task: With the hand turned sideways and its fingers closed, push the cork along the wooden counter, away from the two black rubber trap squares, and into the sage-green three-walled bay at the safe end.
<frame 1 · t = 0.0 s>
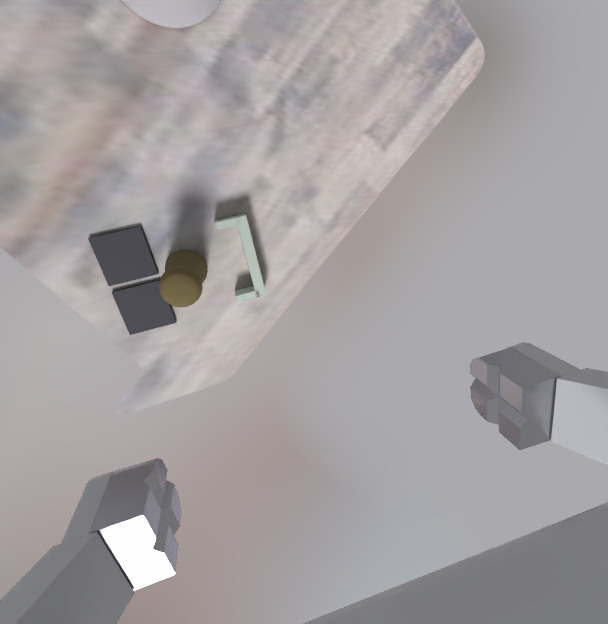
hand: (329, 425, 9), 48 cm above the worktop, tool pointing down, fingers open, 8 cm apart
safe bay: (232, 258, 55), on the worktop
trap squares: (135, 282, 53), on the worktop
cork: (186, 269, 54), on the worktop
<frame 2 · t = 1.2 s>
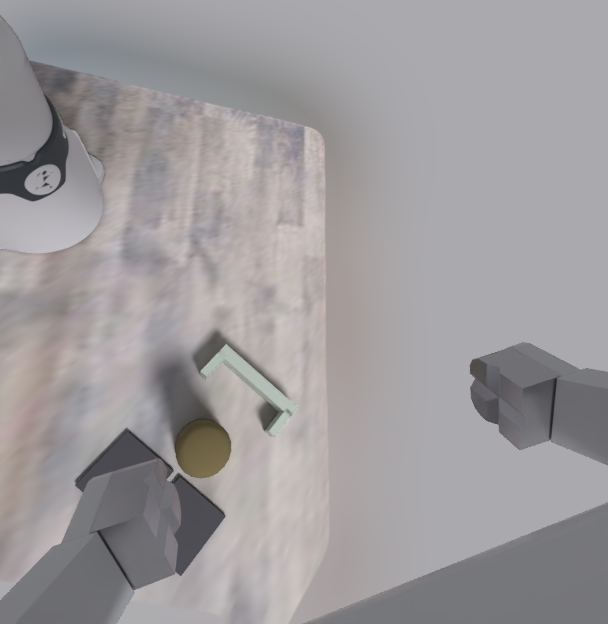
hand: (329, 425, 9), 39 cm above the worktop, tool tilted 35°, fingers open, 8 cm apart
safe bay: (240, 399, 46), on the worktop
trap squares: (153, 500, 40), on the worktop
cork: (201, 444, 44), on the worktop
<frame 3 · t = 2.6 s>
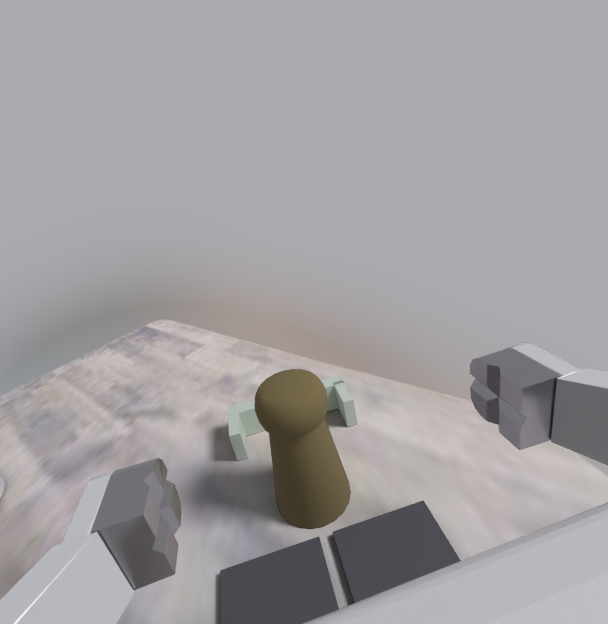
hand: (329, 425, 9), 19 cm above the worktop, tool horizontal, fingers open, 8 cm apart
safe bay: (296, 435, 35), on the worktop
trap squares: (342, 591, 22), on the worktop
cork: (313, 494, 29), on the worktop
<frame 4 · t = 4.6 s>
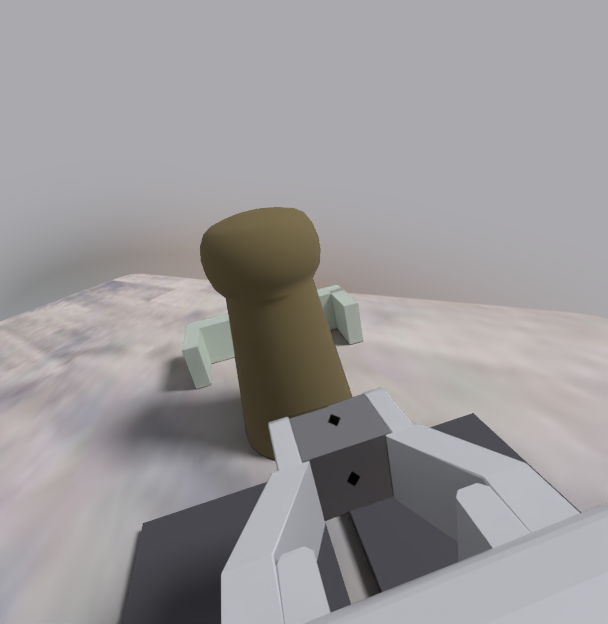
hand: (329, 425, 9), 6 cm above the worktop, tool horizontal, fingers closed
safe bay: (280, 357, 26), on the worktop
trap squares: (347, 548, 13), on the worktop
cork: (302, 420, 19), on the worktop
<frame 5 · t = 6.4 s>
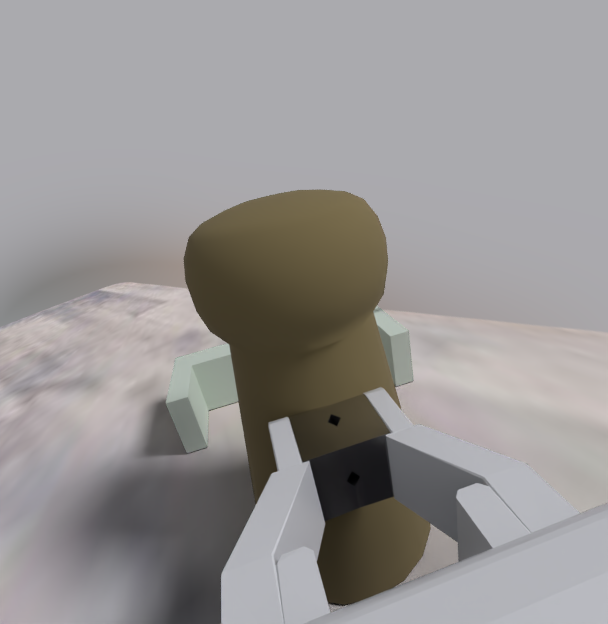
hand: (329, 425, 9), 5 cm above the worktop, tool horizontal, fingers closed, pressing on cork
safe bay: (301, 404, 19), on the worktop
cork: (343, 512, 13), on the worktop, touching gripper
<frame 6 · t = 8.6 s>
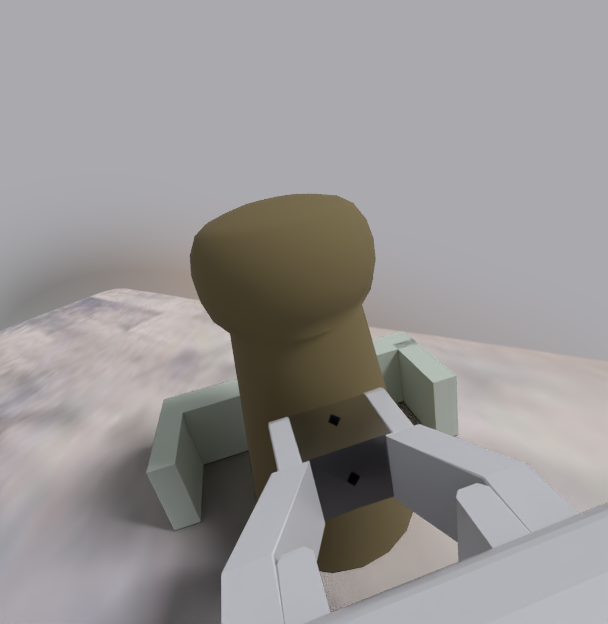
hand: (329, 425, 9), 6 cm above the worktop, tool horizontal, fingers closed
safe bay: (317, 461, 15), on the worktop
cork: (334, 493, 14), on the worktop
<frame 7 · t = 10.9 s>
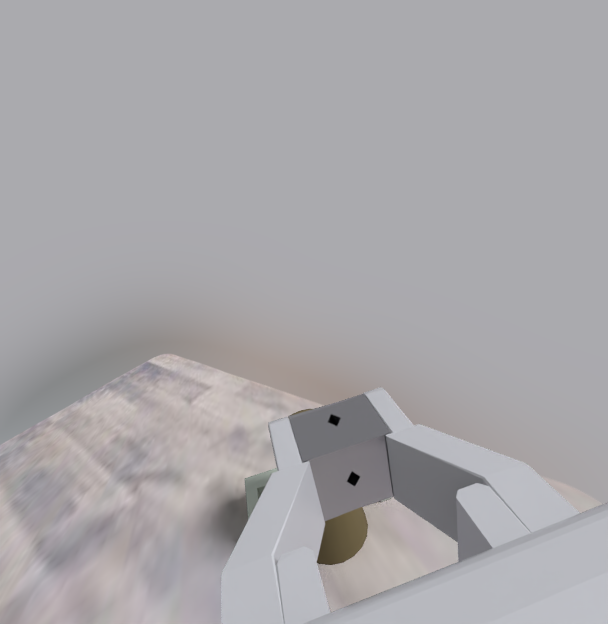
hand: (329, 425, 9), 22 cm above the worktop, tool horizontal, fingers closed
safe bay: (323, 511, 31), on the worktop
cork: (331, 528, 30), on the worktop
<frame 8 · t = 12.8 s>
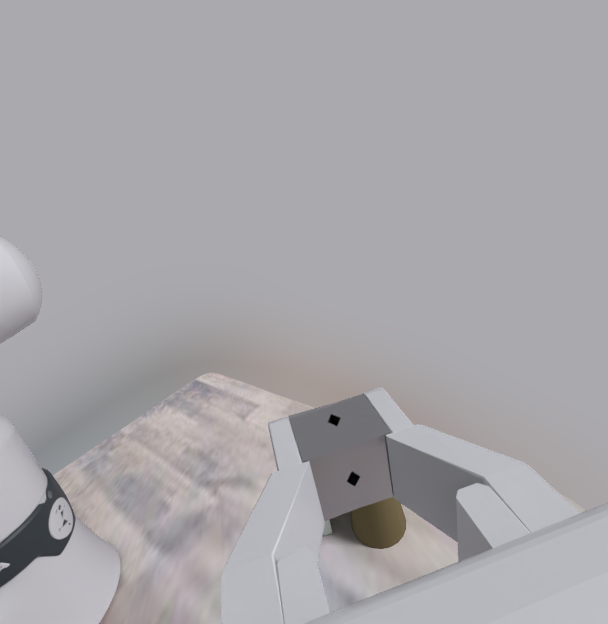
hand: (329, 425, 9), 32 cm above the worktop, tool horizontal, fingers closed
cork: (378, 522, 40), on the worktop
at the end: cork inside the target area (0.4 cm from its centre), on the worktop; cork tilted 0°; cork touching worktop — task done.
